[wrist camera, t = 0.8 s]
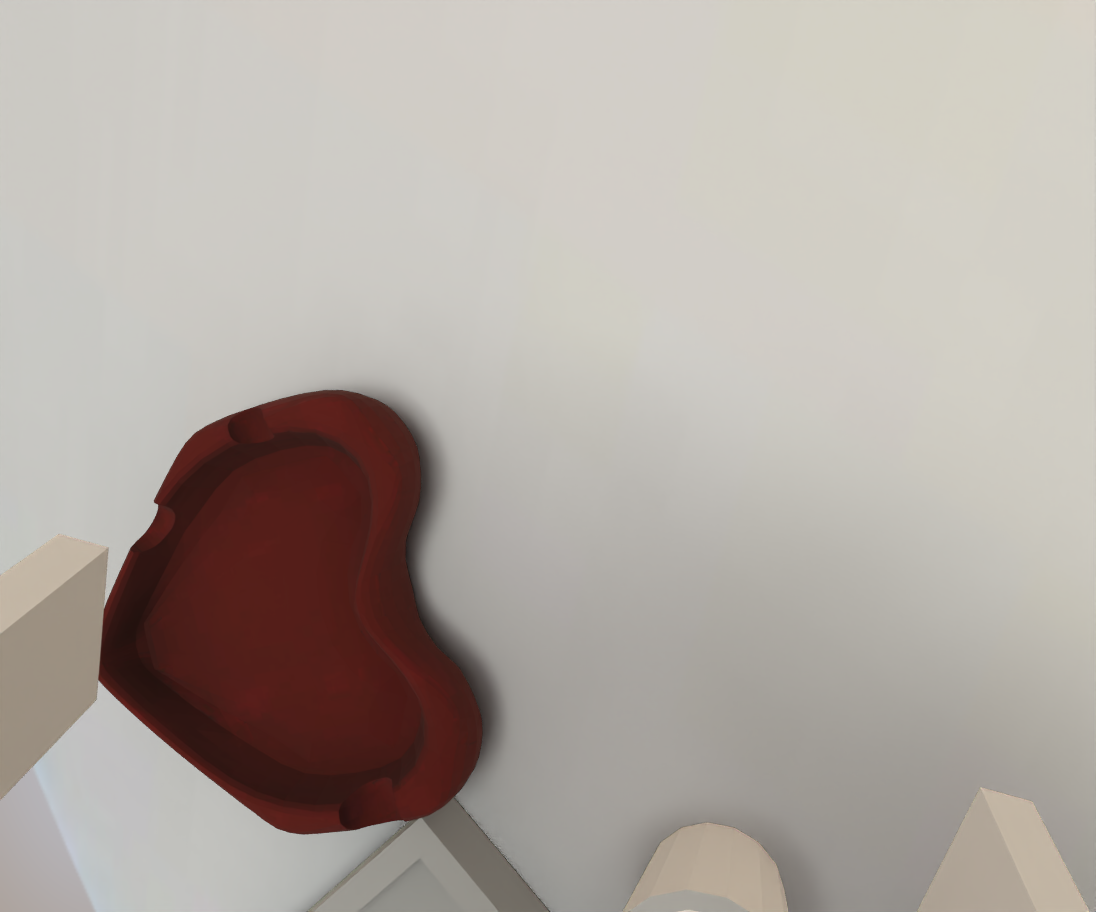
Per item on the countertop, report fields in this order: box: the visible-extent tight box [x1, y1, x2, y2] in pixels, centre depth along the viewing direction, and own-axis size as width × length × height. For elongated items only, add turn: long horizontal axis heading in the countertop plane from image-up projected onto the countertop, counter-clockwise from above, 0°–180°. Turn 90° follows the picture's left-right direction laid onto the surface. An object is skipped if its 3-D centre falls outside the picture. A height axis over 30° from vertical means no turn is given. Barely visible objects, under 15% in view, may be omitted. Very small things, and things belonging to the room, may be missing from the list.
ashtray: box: [98, 390, 483, 834], centre depth 41 cm, size 18×16×5 cm
